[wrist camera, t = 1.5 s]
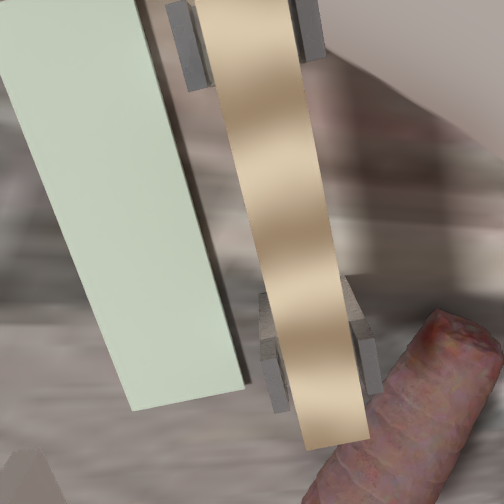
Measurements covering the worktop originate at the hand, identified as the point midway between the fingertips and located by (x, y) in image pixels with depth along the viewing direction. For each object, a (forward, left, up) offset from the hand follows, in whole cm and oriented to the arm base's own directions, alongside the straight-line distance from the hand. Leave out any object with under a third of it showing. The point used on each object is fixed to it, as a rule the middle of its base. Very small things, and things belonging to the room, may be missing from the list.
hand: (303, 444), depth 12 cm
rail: (-1, +1, -18) cm, 18 cm away
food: (+21, +7, -26) cm, 34 cm away
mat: (-1, -11, -25) cm, 27 cm away
